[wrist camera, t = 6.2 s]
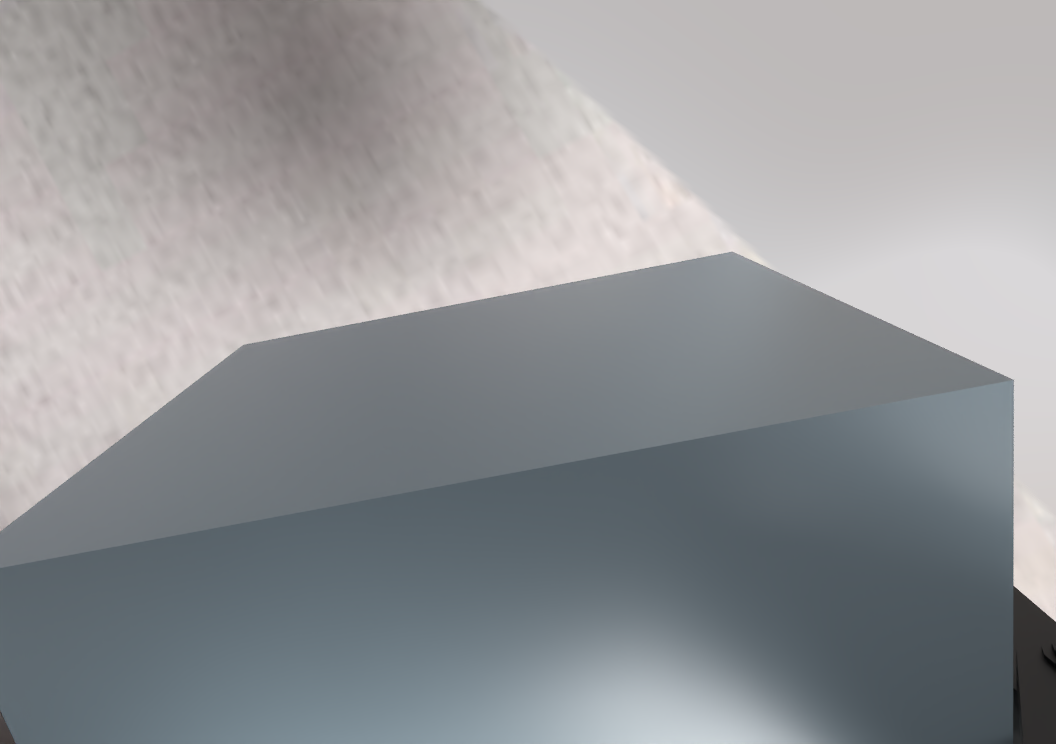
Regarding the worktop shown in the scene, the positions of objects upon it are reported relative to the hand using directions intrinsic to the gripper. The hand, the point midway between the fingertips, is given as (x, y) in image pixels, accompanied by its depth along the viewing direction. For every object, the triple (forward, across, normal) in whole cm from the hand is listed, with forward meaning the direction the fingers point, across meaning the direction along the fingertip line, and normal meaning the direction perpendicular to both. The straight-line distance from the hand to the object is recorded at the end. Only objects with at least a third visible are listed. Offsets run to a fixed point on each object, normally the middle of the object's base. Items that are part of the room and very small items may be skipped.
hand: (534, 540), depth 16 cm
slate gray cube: (+1, 0, 0) cm, 1 cm away
